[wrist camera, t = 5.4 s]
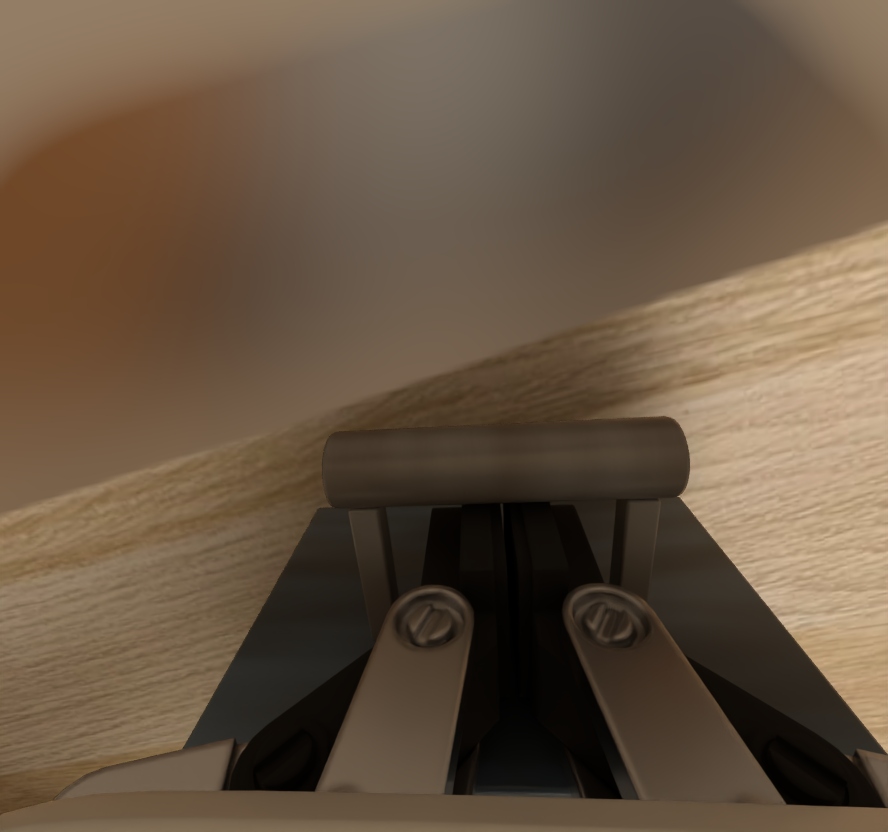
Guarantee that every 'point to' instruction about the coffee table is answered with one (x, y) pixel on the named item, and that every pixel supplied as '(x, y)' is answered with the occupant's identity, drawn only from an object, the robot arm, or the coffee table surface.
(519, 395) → the coffee table surface
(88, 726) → the coffee table surface
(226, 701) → the drawer
